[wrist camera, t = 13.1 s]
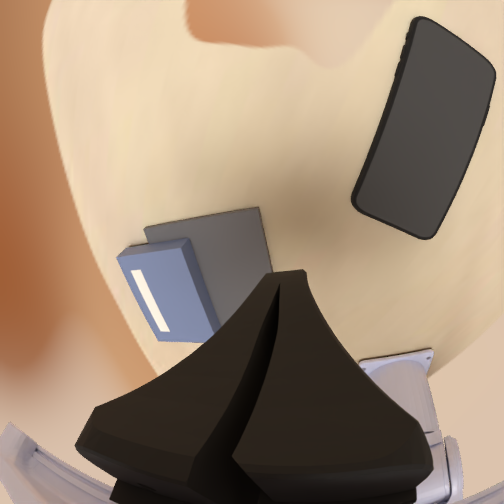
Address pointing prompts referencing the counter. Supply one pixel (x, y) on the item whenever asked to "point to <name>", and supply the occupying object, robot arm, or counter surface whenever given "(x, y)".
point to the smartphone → (425, 131)
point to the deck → (170, 290)
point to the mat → (223, 254)
